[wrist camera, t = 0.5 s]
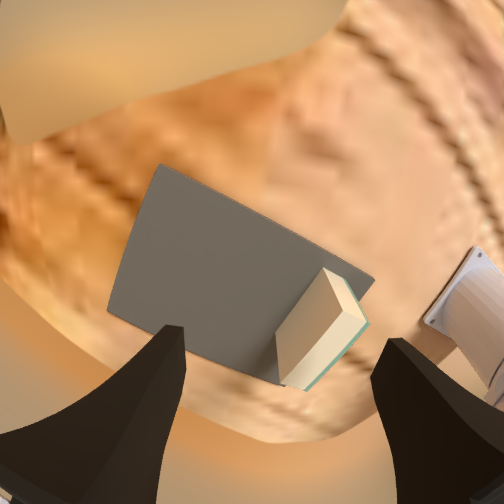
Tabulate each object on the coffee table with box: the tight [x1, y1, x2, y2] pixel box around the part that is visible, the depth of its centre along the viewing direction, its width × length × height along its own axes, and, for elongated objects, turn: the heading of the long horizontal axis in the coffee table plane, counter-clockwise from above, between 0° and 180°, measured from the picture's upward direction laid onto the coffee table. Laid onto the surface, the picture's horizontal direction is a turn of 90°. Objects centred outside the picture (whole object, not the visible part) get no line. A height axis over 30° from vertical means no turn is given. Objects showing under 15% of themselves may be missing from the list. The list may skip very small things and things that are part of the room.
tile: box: [275, 268, 370, 391], centre depth 17 cm, size 2×6×5 cm, turn 151°
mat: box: [107, 164, 375, 387], centre depth 19 cm, size 16×12×1 cm
